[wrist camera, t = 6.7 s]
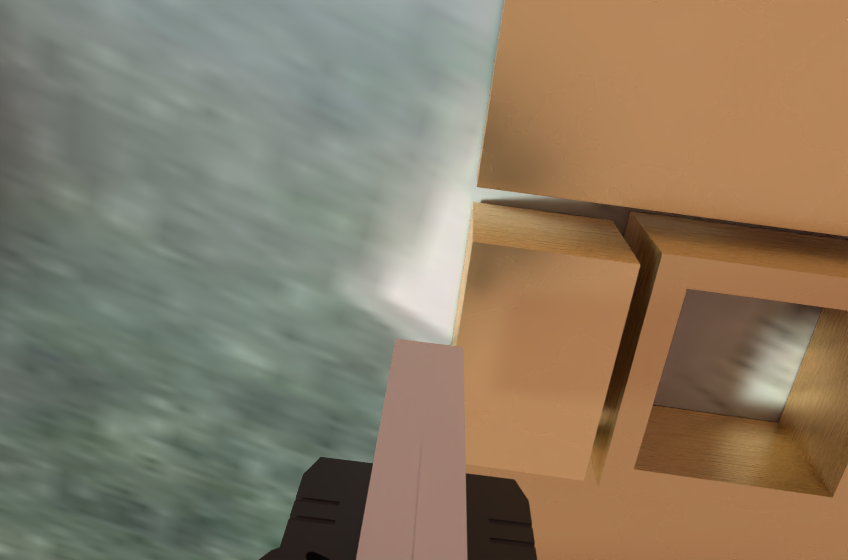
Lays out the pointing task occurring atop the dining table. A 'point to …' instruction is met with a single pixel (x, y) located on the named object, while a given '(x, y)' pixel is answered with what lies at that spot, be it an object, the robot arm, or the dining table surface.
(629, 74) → the hinge flap with knuckles
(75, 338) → the dining table surface
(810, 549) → the fixed leaf
